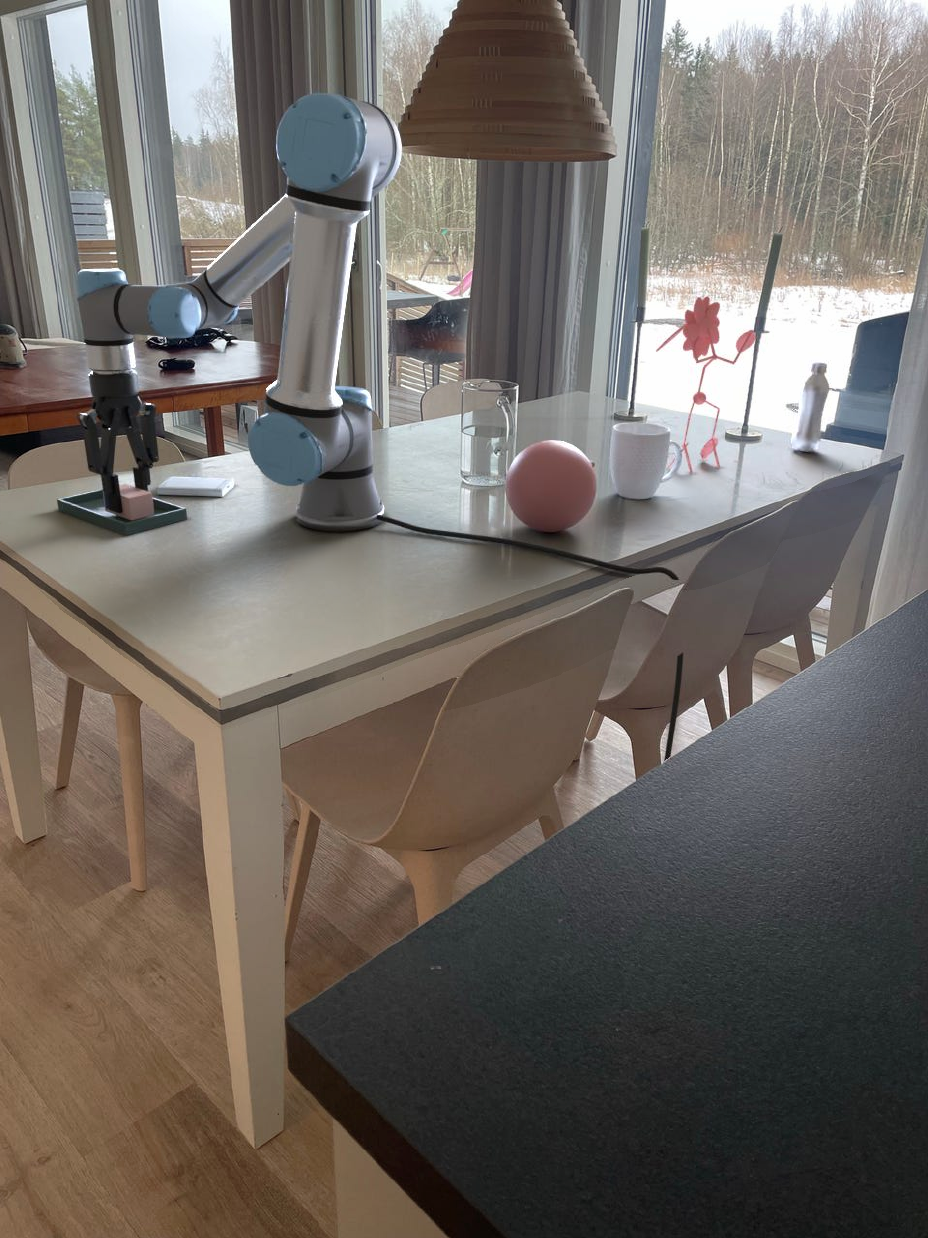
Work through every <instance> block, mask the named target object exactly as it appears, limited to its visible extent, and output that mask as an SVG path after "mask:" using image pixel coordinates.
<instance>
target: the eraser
mask: <svg viewBox="0 0 928 1238" xmlns="http://www.w3.org/2000/svg"><path fill="white" fill-rule="evenodd" d="M119 487H120V495H121V503H122V511H123V512H122V513H117V512H114V511H111V510H110V508H109V500H108V494H106V493H104V491H103V497H104V505H105V511H107V512H110V513H113V514H115V515H118V516H121V517H123V518H126V519H129V520H131V521H132V520H136V519H140V518H144V517H148V516H152V515H154V508H153V499H152V497H153V492H152V491H151V492H150V491H149V490H148V491H145V490H142V489H139V488H136V487H135V486H133V485H130V484H127V483H123V484H119ZM101 489H102V490H103V488H101Z"/></svg>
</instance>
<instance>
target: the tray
mask: <svg viewBox="0 0 928 1238" xmlns="http://www.w3.org/2000/svg"><path fill="white" fill-rule="evenodd" d="M102 489H103V488H101V489H97V490H94V491H88V492H84V493H79V494H74V495H70V496H66V497H61V498H57V499H56V504H57V508H58V511H60V512H63V513H64V514H67V515H71V516H72V517H75V518H79V519H82V520H83V521H86V522H89V523H92V524H94V525H97V526H99V527H102V528H105V529H107V530H109V531H113V532H115V533H118V534H121V535H123V536H127V537H128V536H131V535H134V534H138V533H143V532H146V531H150V530H153V529H156V528H160V527H164V526H168V525H171V524H174V523H179V522H182V521H186V520H188V513H187V512H188V511H187V508H186V507H184V506H181V505H178V504H174V503H171V502H168V501H165V500H162V499H159V498H155V497H153V496H152V499H153V508H154V515H152V516H148V517H144V518H140V519H136V520H132V521H131V520H129V519H126V518H123V517H121V516H118V515H115V514H113V513H110V512H107V511H105V505H104V497H103V490H102Z"/></svg>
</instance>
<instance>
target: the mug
mask: <svg viewBox="0 0 928 1238" xmlns="http://www.w3.org/2000/svg"><path fill="white" fill-rule="evenodd" d="M611 430H612V431H611V437H610V450H609V451H610V452H609V454H610V455H609V469H610V470H609V472H610V476H611V481H612V485H613V487H614V489H615V491H616V493H617V494H618V495H619V496H620V497H621V498H625V499H628V500H646V499H647V500H648V499H650V498H652V497H653V496H654V495H655V494H656V492H657V490H658V489H659V487H660V485H661V484H662V483H665V482H668V481H669V480H671V479H673V478H674V477H675V476H676V475H677V474H678V472H679V470H680V468H681V465H682V460H683V451H681V450H682V449H681V448H682V447H681V446H680V445H679V444H678V443H677V441H675V440H673V439H671V431H672V430H671V429H670V427H667V426H665V425H661V424H656V423H648V422H647V423H646V422H623V423H617V424H614V425H613V426H612V429H611ZM670 446H672V447H673V449H674V452H675V457H676V458H675V457H674V458H675V461H674V462H673V466H672V468H671V469H670V471H669V472H668V473H666V474H665V472H666V468H667V464H668V458H669V455H670V453H669V451H670Z"/></svg>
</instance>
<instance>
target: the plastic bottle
mask: <svg viewBox="0 0 928 1238" xmlns="http://www.w3.org/2000/svg"><path fill="white" fill-rule="evenodd" d="M827 369H828V364H827V363H825V362H811V363H810V364H809V369H808V372H809V374H808V375H806V377H805V378H804V379H803V380H802V382H801V383H800V386H799V403H798V412H797V419H796V422H795V427H794V430H793V431H792V434H791V440H790V441H791V442H790V445H791V447H792V449H793V450H796V451H799V452H803V453H808V452H815V451H816V450H817V449H818V448H819V446H820V445H821V444H820V443H821V438H822V436H821V433H822V432H821V429H822V427H821V426H822V417H823V412H824V408H825V404H826V401H827V398H828V394H829V392H830V384H829V382H828V379H827V377H826V375H825V374H826V373H827Z"/></svg>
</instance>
